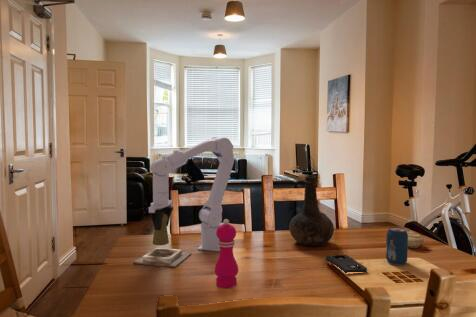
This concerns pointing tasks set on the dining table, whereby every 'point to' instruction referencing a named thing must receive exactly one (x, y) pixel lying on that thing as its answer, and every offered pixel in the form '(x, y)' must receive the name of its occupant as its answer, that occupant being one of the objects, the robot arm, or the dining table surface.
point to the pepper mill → (226, 256)
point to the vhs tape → (346, 263)
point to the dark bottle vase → (311, 219)
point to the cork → (161, 233)
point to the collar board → (163, 257)
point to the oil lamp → (414, 239)
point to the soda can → (396, 246)
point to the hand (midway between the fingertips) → (161, 227)
